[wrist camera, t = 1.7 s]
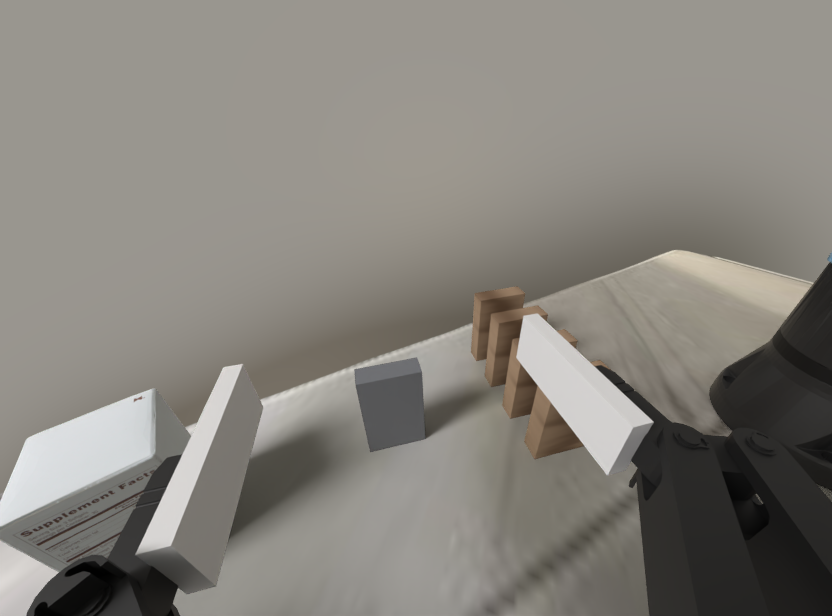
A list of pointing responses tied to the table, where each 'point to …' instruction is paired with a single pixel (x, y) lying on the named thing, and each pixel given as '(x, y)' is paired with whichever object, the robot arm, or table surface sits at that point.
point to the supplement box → (87, 479)
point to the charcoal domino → (391, 403)
